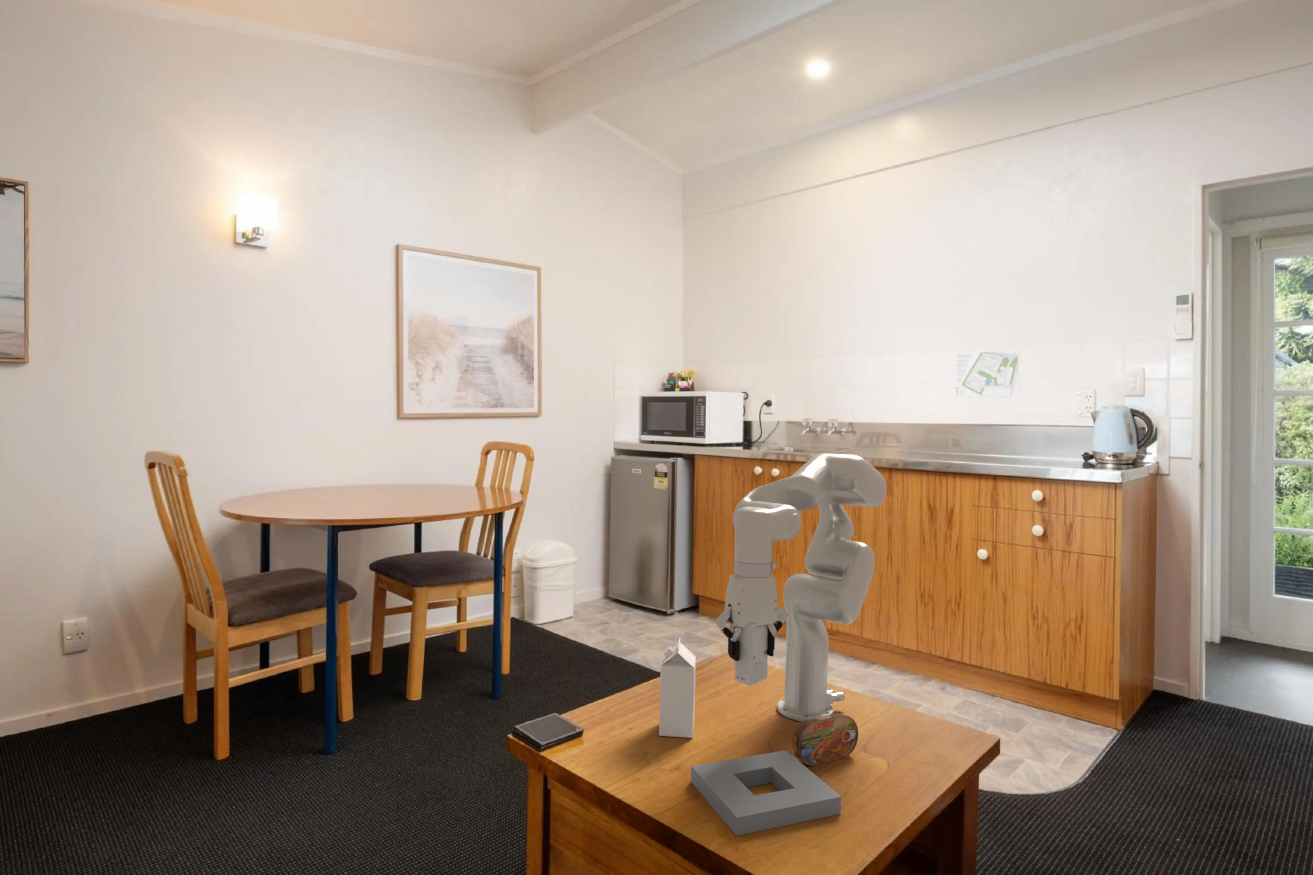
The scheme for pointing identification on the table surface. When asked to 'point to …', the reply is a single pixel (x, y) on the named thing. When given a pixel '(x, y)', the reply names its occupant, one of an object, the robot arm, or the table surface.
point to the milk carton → (677, 692)
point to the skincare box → (752, 655)
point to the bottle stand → (749, 813)
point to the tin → (825, 739)
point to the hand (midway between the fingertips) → (751, 655)
